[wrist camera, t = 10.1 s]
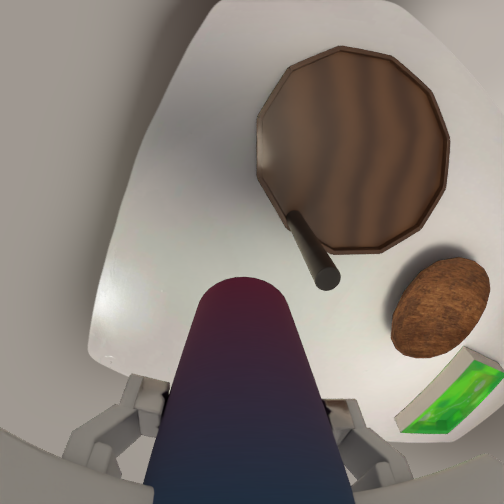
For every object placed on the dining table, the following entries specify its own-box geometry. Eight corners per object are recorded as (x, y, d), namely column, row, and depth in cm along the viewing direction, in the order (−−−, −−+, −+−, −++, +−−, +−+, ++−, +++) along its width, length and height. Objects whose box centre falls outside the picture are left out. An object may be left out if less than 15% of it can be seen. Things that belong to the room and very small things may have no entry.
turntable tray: (256, 250, 38) (266, 331, 23) (255, 43, 28) (268, -20, 13) (428, 247, 39) (496, 304, 24) (442, 74, 29) (527, 67, 14)
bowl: (440, 347, 50) (451, 362, 46) (360, 334, 47) (369, 353, 42) (488, 264, 43) (504, 276, 38) (414, 229, 40) (432, 241, 35)
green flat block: (463, 346, 51) (474, 359, 46) (498, 363, 56) (506, 374, 52) (394, 417, 59) (400, 432, 55) (441, 422, 65) (447, 433, 60)
